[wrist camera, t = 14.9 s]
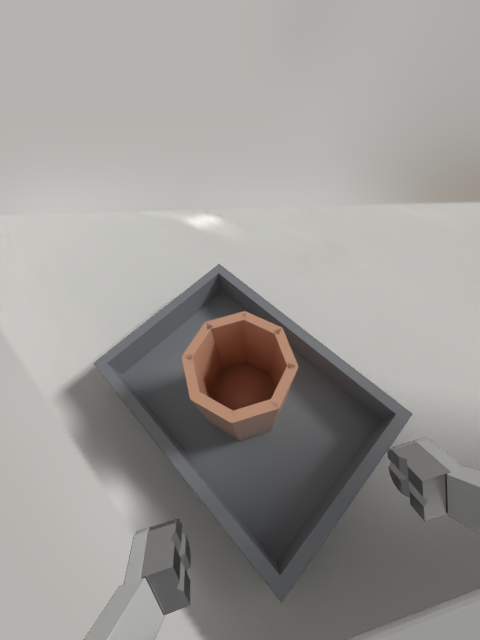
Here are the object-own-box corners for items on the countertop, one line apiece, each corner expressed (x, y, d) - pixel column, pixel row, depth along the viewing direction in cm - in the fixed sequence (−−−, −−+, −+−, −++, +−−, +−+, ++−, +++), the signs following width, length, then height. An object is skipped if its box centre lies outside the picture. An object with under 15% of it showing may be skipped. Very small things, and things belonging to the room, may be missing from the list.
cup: (199, 372, 25) (176, 329, 18) (267, 352, 26) (272, 303, 19) (216, 448, 22) (197, 434, 15) (293, 423, 23) (311, 398, 15)
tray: (114, 378, 27) (93, 363, 23) (223, 287, 31) (219, 263, 27) (276, 579, 19) (281, 602, 16) (389, 423, 24) (412, 414, 20)
